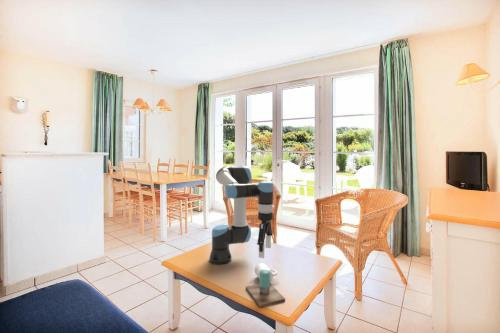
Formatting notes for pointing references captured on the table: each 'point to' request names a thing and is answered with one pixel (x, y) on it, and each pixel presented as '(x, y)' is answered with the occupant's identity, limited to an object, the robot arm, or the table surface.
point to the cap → (264, 278)
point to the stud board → (265, 295)
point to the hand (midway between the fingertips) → (265, 252)
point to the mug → (264, 267)
